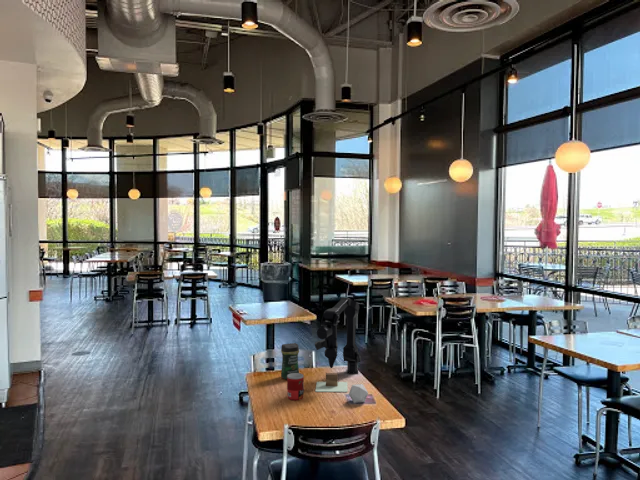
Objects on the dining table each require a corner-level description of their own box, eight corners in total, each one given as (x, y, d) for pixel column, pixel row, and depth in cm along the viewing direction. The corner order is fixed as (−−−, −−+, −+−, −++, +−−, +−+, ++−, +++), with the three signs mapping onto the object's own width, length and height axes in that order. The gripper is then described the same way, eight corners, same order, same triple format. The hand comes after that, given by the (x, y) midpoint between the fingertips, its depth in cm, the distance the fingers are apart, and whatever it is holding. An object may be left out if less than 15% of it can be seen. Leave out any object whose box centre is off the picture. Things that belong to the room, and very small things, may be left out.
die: (364, 407, 214) (373, 388, 218) (347, 398, 214) (356, 379, 218) (359, 407, 222) (368, 388, 226) (343, 398, 222) (352, 380, 226)
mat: (316, 382, 247) (316, 381, 247) (347, 382, 246) (347, 381, 246) (315, 392, 233) (315, 391, 233) (347, 392, 232) (347, 391, 232)
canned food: (301, 401, 221) (301, 378, 221) (285, 400, 223) (285, 377, 222) (305, 395, 229) (305, 373, 228) (289, 394, 230) (289, 372, 230)
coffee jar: (284, 380, 250) (283, 346, 250) (279, 376, 258) (279, 342, 257) (301, 378, 254) (300, 344, 254) (296, 374, 261) (295, 341, 261)
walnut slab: (326, 384, 243) (325, 373, 243) (337, 384, 242) (337, 373, 242) (325, 386, 240) (325, 374, 240) (337, 386, 240) (337, 374, 240)
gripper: (316, 330, 250) (316, 359, 250) (314, 339, 231) (314, 370, 232) (337, 330, 249) (337, 360, 250) (336, 339, 231) (337, 370, 231)
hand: (331, 365), depth 241 cm, fingers open, 9 cm apart
